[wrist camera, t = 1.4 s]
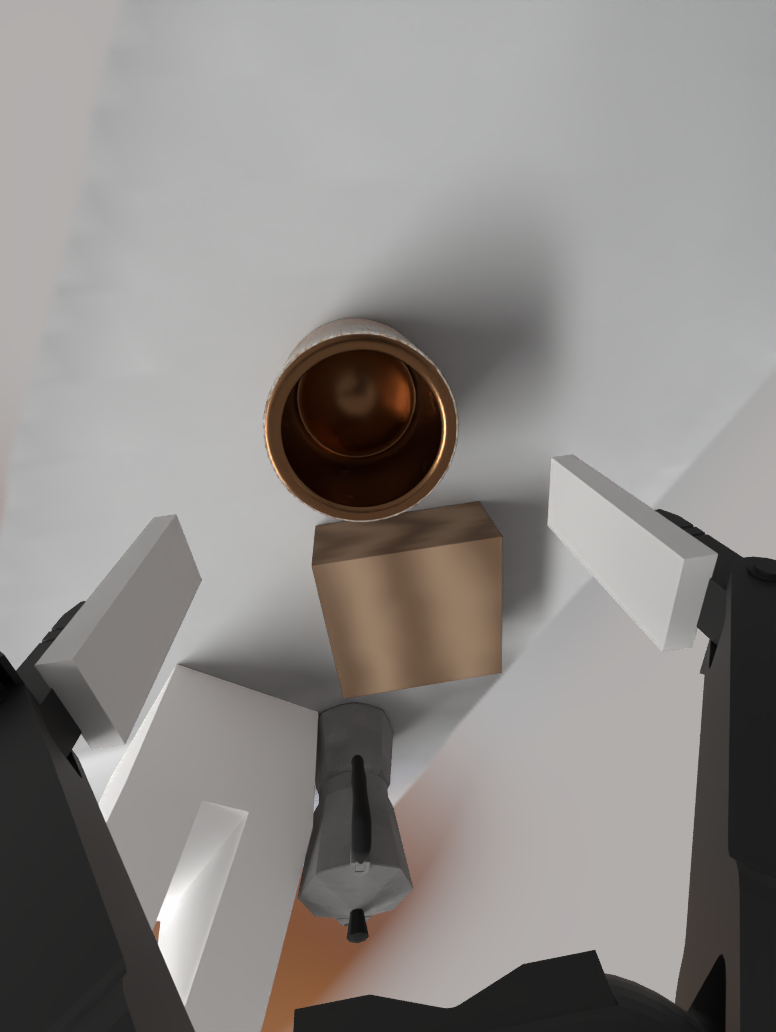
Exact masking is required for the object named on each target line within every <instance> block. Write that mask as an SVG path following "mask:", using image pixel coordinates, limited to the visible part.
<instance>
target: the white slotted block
mask: <svg viewBox="0 0 776 1032" xmlns="http://www.w3.org/2000/svg"><path fill="white" fill-rule="evenodd" d="M317 728H318V712H317V711H314V710H311V709H308V708H305V707H302V706H299V705H296V704H293V703H290V702H287V701H284V700H281V699H278V698H275V697H272V696H269V695H267V694H264V693H261V692H258V691H255V690H252V689H249V688H246V687H243V686H240V685H237V684H234V683H231V682H228V681H225V680H222V679H219V678H216V677H213V676H211V675H208V674H205V673H202V672H199V671H196V670H193V669H190V668H187V667H184V666H181V665H178V664H176V666H175V668H174V670H173V671H172V673H171V675H170V677H169V678H168V680H167V682H166V683H165V685H164V687H163V689H162V690H161V692H160V694H159V695H158V697H157V699H156V701H155V702H154V704H153V706H152V708H151V709H150V711H149V713H148V714H147V716H146V718H145V720H144V721H143V723H142V725H141V727H140V728H139V730H138V732H137V733H136V735H135V737H134V739H133V740H132V742H131V744H130V745H129V747H128V749H127V751H126V752H125V754H124V756H123V758H122V759H121V761H120V763H119V764H118V766H117V768H116V770H115V771H114V773H113V775H112V777H111V778H110V781H109V783H108V785H107V787H106V789H105V791H104V793H103V796H102V798H101V800H100V802H99V804H98V805H99V808H100V810H101V812H102V815H103V817H104V819H105V822H106V824H107V827H108V829H109V831H110V834H111V836H112V838H113V841H114V843H115V845H116V848H117V850H118V852H119V855H120V857H121V859H122V862H123V864H124V866H125V869H126V871H127V873H128V876H129V878H130V880H131V883H132V885H133V887H134V890H135V892H136V894H137V897H138V899H139V901H140V904H141V906H142V908H143V911H144V913H145V916H146V918H147V920H148V923H149V925H150V927H151V930H152V931H153V928H154V925H155V922H156V921H161V924H160V932H159V940H158V946H159V948H160V951H161V953H162V955H163V958H164V960H165V962H166V965H167V967H168V969H169V972H170V974H171V976H172V979H173V981H174V983H175V986H176V988H177V990H178V993H179V995H180V997H181V1000H182V1002H183V1005H184V1007H185V1009H186V1012H187V1014H188V1016H189V1019H190V1021H191V1023H192V1026H193V1028H194V1030H195V1032H261V1028H262V1025H263V1020H264V1017H265V1013H266V1009H267V1005H268V1001H269V997H270V993H271V989H272V985H273V981H274V978H275V974H276V970H277V966H278V962H279V958H280V954H281V950H282V946H283V942H284V938H285V934H286V930H287V927H288V923H289V919H290V915H291V911H292V906H293V903H294V899H295V895H296V891H297V887H298V883H299V879H300V875H301V872H302V868H303V864H304V860H305V856H306V852H307V848H308V844H309V840H310V836H311V832H312V828H313V812H314V791H315V770H316V749H317Z"/></svg>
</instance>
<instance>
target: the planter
mask: <svg viewBox="0 0 776 1032" xmlns="http://www.w3.org/2000/svg"><path fill="white" fill-rule="evenodd" d="M458 428H459V423H458V412H457V407H456V403H455V399H454V396H453V393H452V391H451V388H450V386H449V384H448V382H447V380H446V379H445V377H444V375H443V374H442V372H441V371H440V370H439V368H438V367H437V366H436V364H435V363H434V362H433V361H432V360H431V359H430V358H429V357H428V356H427V355H426V354H425V353H423V352H422V351H421V350H420V349H418V348H417V347H416V346H415V345H414V344H412V343H411V342H410V341H409V340H408V339H407V338H406V337H404V336H403V335H402V334H401V333H399V332H398V331H396V330H395V329H393V328H391V327H389V326H387V325H385V324H382V323H380V322H377V321H373V320H368V319H360V318H350V319H342V320H337V321H333V322H330V323H327V324H325V325H323V326H321V327H319V328H317V329H315V330H314V331H312V332H311V333H310V334H308V335H307V336H306V337H305V338H304V339H303V340H302V341H301V342H300V343H299V344H298V345H297V346H296V348H295V349H294V350H293V352H292V353H291V355H290V356H289V358H288V360H287V361H286V363H285V365H284V367H283V368H282V370H281V371H280V373H279V375H278V376H277V378H276V379H275V381H274V383H273V385H272V387H271V390H270V392H269V395H268V398H267V401H266V405H265V410H264V417H263V436H264V443H265V448H266V452H267V455H268V458H269V461H270V463H271V465H272V467H273V470H274V471H275V473H276V475H277V477H278V478H279V480H280V481H281V482H282V484H283V485H284V486H285V487H286V489H287V490H288V491H289V492H290V493H291V494H292V495H293V496H294V497H295V498H297V499H298V500H299V501H300V502H302V503H303V504H304V505H306V506H307V507H309V508H311V509H313V510H314V511H316V512H318V513H321V514H323V515H326V516H328V517H331V518H335V519H339V520H344V521H352V522H369V521H377V520H382V519H386V518H390V517H393V516H396V515H398V514H401V513H403V512H405V511H407V510H409V509H410V508H412V507H414V506H415V505H417V504H418V503H420V502H421V501H422V500H423V499H425V498H426V497H427V496H428V495H429V494H430V493H431V492H432V491H433V490H434V489H435V488H436V487H437V485H438V484H439V483H440V481H441V480H442V479H443V477H444V475H445V474H446V472H447V470H448V468H449V466H450V464H451V462H452V459H453V456H454V453H455V450H456V446H457V440H458Z"/></svg>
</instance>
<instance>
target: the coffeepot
mask: <svg viewBox="0 0 776 1032" xmlns="http://www.w3.org/2000/svg"><path fill="white" fill-rule="evenodd" d="M392 742H393V730H392V728H391V725H390V723H389V720H388V718H387V717H386V715H385V713H384V711H382V710H380V709H378V708H376V707H373V706H370V705H367V704H362V703H349V704H343V705H339V706H336V707H333V708H331V709H329V710H327V711H326V712H323V713H322V714H321V715H320V716H319V718H318V728H317V749H316V770H315V784H316V789H317V791H318V794H319V805H318V806H317V808H316V809H315V811H314V813H313V828H312V832H311V836H310V840H309V844H308V848H307V852H306V856H305V861H304V867H303V873H302V878H301V883H300V888H299V894H298V899H299V900H300V901H301V902H302V903H303V904H304V905H305V906H306V907H307V908H308V909H309V910H310V912H311V913H312V914H313V915H314V916H318V917H327V918H336V919H337V920H338V921H339V923H340V924H341V925H344V926H347V925H349V926H348V933H347V939H348V941H349V942H354V943H360V942H362V941H365V940H366V939H367V938H368V930H367V925H366V921H367V920H368V919H369V918H370V917H371V916H372V915H375V914H378V913H382V912H386V911H389V910H393V909H394V908H395V907H396V906H397V905H398V904H399V903H400V902H401V901H402V900H403V899H404V898H405V897H406V896H407V895H408V894H409V893H410V891H412V889H413V886H412V882H411V877H410V873H409V869H408V865H407V861H406V857H405V853H404V849H403V845H402V841H401V837H400V833H399V828H398V824H397V820H396V816H395V812H394V808H393V806H392V804H391V802H390V800H389V798H388V792H387V789H388V787H389V785H390V774H391V758H392Z"/></svg>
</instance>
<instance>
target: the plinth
mask: <svg viewBox="0 0 776 1032" xmlns="http://www.w3.org/2000/svg"><path fill="white" fill-rule="evenodd" d="M312 570H313V574H314V578H315V582H316V586H317V590H318V595H319V599H320V603H321V607H322V611H323V615H324V620H325V624H326V628H327V632H328V636H329V640H330V645H331V649H332V653H333V657H334V661H335V665H336V670H337V674H338V678H339V682H340V686H341V690H342V695H343V699H345V698H351V697H357V696H363V695H369V694H375V693H381V692H388V691H394V690H400V689H406V688H412V687H418V686H424V685H430V684H436V683H442V682H448V681H454V680H460V679H466V678H472V677H478V676H484V675H490V674H497V673H502V535H501V534H500V532H499V531H498V529H497V528H496V526H495V525H494V523H493V522H492V520H491V519H490V517H489V516H488V514H487V512H486V511H485V509H484V508H483V506H482V505H481V503H480V502H479V501H478V502H471V503H465V504H458V505H451V506H445V507H438V508H432V509H425V510H418V511H412V512H405V513H401V514H398V515H396V516H393V517H390V518H386V519H382V520H377V521H369V522H352V521H346V522H339V523H332V524H326V525H319V526H315V536H314V546H313V557H312Z"/></svg>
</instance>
